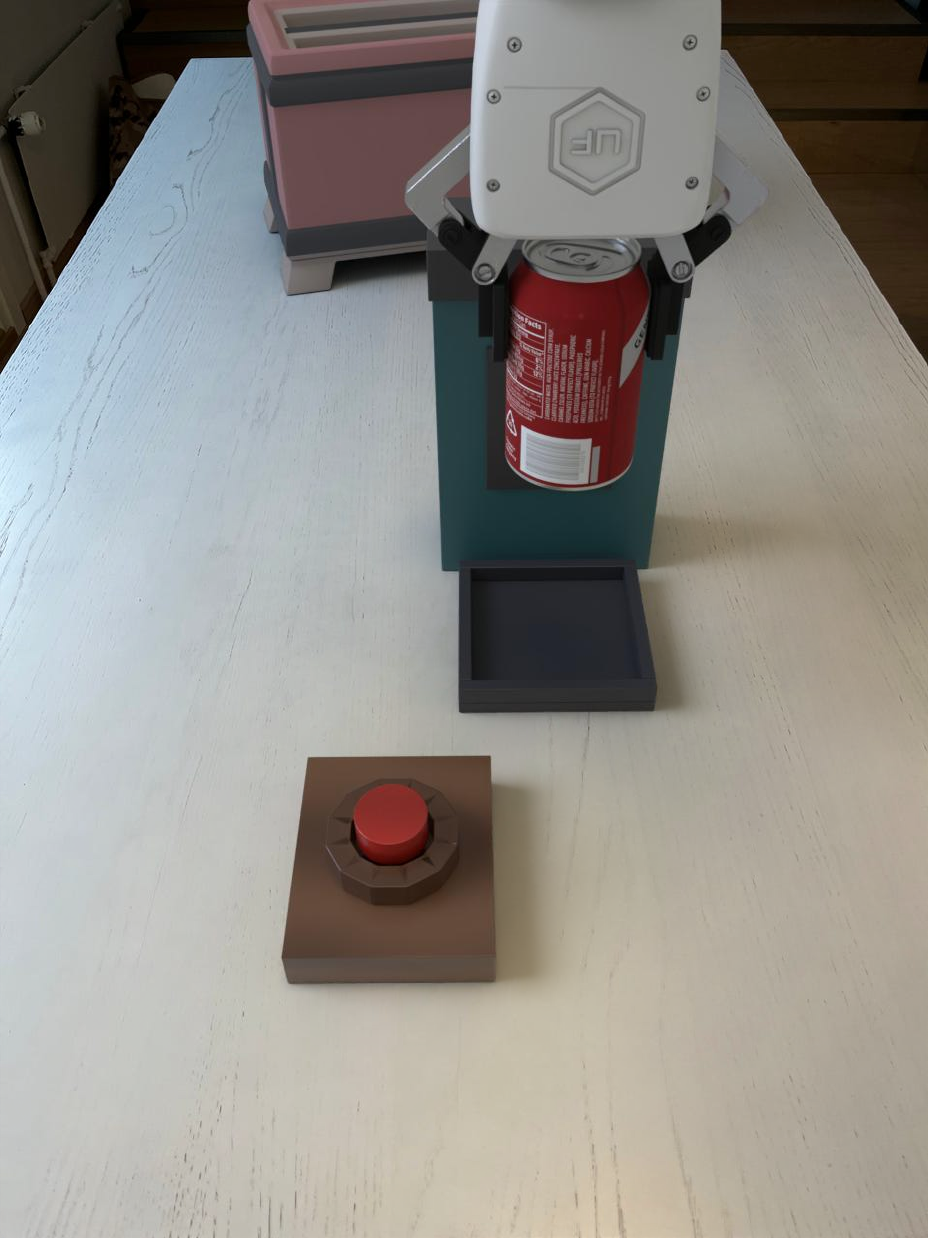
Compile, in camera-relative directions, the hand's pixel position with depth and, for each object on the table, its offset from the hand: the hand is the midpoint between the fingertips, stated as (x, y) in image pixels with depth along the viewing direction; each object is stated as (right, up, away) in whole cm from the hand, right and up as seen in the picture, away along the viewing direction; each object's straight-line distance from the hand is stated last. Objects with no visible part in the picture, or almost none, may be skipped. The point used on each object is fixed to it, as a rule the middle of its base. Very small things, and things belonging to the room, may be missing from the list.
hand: (575, 344), depth 53 cm
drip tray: (0, -15, +16) cm, 22 cm away
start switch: (-9, -27, +3) cm, 28 cm away
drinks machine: (0, -8, +23) cm, 24 cm away
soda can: (0, -5, +5) cm, 7 cm away
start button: (-9, -24, +1) cm, 26 cm away
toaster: (-8, +26, +59) cm, 65 cm away
